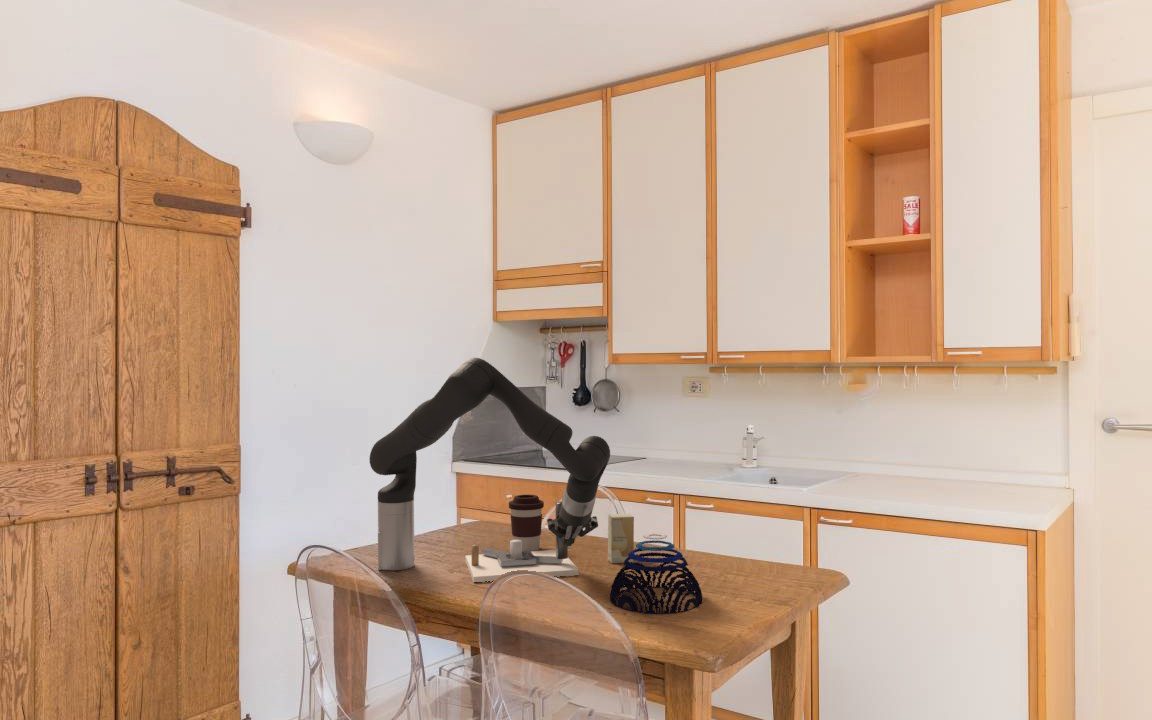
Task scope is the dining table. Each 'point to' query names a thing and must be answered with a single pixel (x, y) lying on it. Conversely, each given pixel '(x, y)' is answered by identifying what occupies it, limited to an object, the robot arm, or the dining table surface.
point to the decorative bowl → (624, 581)
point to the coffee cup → (526, 520)
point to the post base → (490, 568)
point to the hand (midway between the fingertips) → (567, 543)
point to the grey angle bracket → (527, 555)
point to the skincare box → (620, 537)
